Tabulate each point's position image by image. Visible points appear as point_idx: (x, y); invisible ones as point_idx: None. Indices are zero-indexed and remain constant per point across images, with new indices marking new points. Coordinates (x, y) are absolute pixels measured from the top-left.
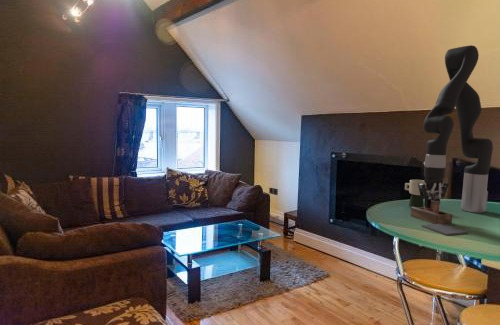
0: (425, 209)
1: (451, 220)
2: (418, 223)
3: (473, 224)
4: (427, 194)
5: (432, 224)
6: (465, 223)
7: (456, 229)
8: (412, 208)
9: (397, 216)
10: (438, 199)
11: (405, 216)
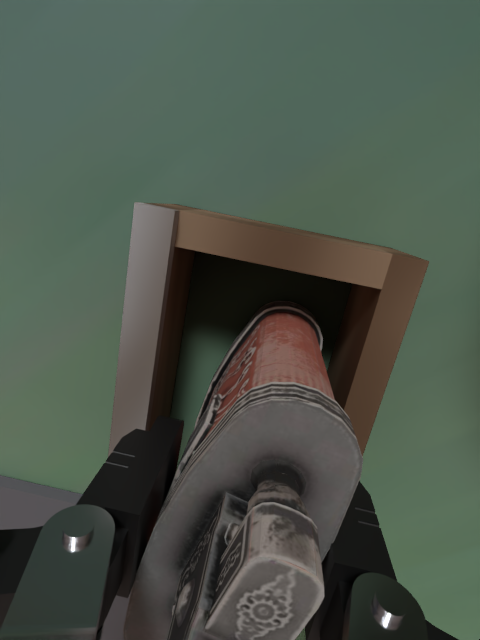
0: (236, 366)
1: None
2: (23, 409)
3: (437, 617)
4: (88, 622)
5: (63, 507)
6: (410, 579)
7: (119, 634)
8: (142, 228)
9: (15, 150)
10: (314, 634)
11: (104, 191)
